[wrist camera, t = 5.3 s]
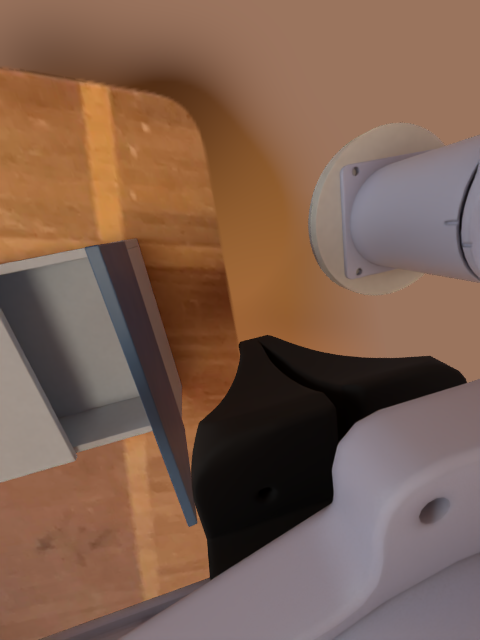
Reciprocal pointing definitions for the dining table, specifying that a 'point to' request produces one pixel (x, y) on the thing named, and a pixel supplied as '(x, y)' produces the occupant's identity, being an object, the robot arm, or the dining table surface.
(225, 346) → the dining table surface
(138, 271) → the carton
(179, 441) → the flap
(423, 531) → the robot arm
